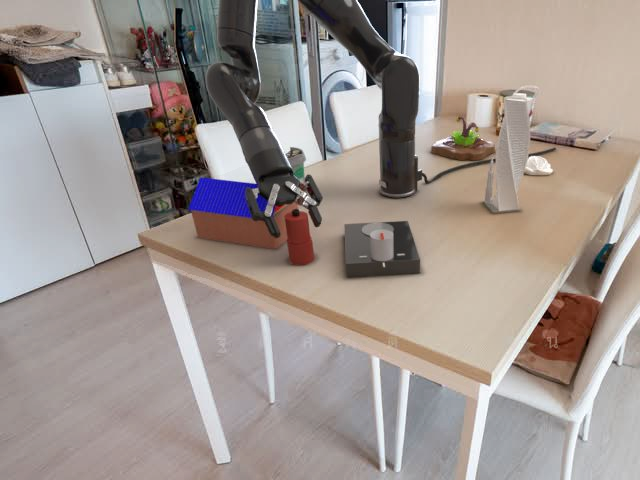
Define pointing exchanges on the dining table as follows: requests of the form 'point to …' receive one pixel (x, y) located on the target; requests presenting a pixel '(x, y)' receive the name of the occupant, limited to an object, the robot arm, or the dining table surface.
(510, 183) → the skyscraper
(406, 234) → the hob
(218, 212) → the house
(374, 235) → the hob knob
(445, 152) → the plant
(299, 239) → the red cylindrical canister
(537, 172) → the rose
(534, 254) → the dining table surface
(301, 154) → the food container
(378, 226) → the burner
